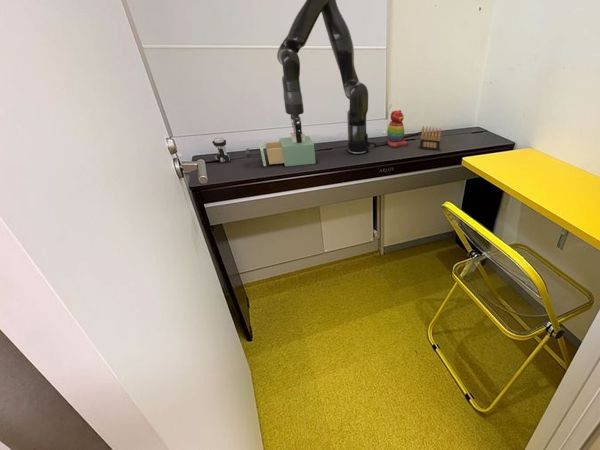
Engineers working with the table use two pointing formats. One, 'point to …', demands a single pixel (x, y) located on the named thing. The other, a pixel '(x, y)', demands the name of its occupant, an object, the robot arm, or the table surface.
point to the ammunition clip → (430, 139)
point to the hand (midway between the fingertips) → (298, 140)
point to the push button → (221, 150)
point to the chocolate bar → (293, 137)
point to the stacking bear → (396, 130)
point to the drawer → (269, 152)
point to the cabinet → (298, 152)
